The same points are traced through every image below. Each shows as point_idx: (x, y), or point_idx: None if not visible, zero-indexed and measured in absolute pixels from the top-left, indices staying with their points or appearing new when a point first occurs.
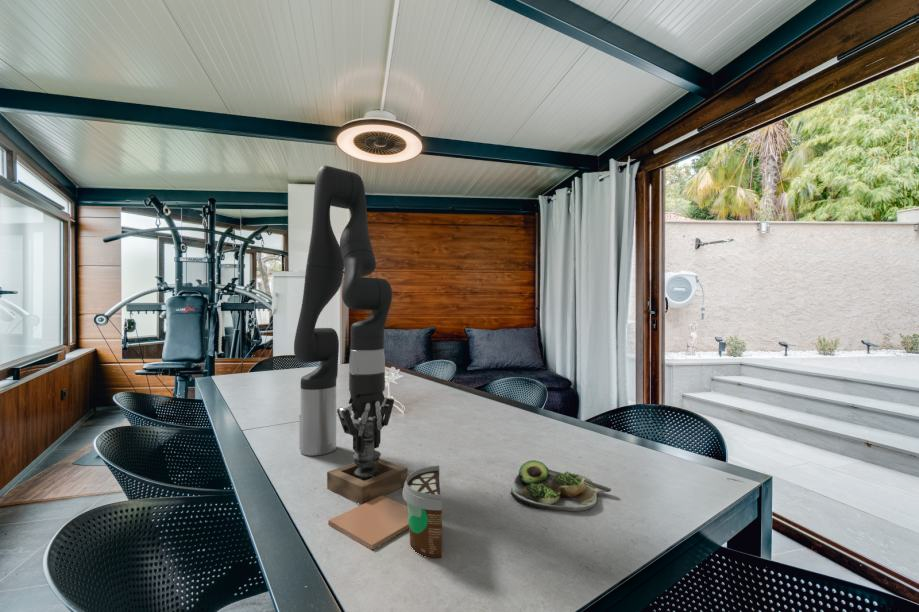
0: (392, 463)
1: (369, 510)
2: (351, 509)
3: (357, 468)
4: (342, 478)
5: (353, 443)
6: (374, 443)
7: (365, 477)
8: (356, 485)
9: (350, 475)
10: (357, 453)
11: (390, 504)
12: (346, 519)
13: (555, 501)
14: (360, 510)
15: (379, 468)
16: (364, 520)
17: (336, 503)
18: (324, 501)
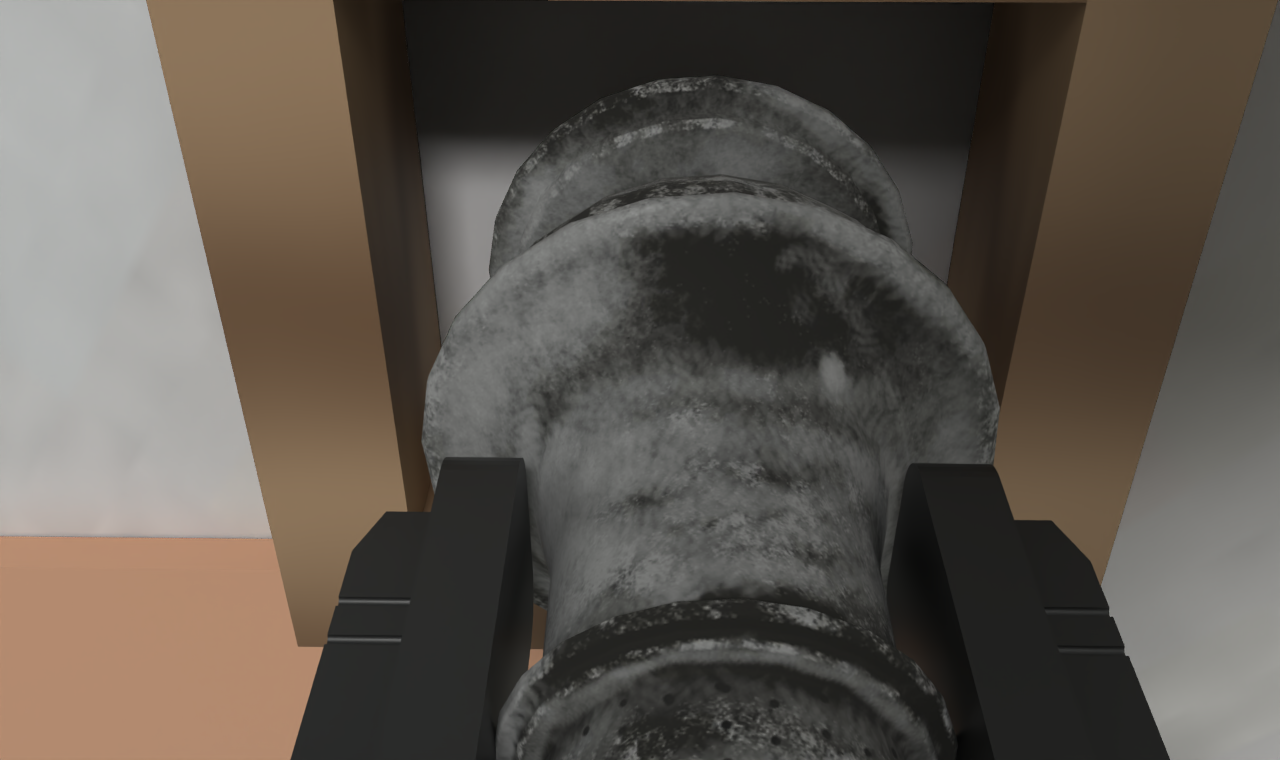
0: (1132, 412)
1: (294, 680)
2: (164, 568)
3: (618, 151)
4: (214, 280)
5: (328, 661)
6: (911, 631)
7: None
8: (279, 554)
9: (370, 281)
10: (538, 401)
11: None
12: (47, 659)
13: None
14: (227, 633)
15: (1009, 209)
16: (175, 750)
17: (140, 260)
18: (29, 101)
